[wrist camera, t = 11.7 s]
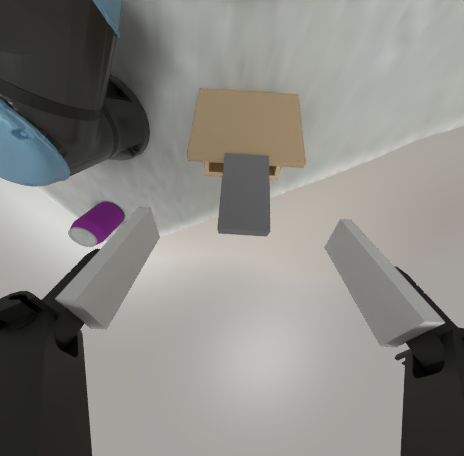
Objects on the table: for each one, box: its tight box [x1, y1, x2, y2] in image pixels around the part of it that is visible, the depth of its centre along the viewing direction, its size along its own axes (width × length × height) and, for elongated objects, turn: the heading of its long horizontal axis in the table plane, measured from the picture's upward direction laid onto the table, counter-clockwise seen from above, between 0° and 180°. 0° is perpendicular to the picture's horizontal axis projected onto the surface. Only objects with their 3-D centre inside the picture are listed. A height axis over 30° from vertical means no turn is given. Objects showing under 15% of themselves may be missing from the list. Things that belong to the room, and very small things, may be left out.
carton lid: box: [187, 88, 306, 236], centre depth 20 cm, size 14×21×2 cm
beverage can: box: [68, 202, 124, 247], centre depth 45 cm, size 8×8×12 cm
